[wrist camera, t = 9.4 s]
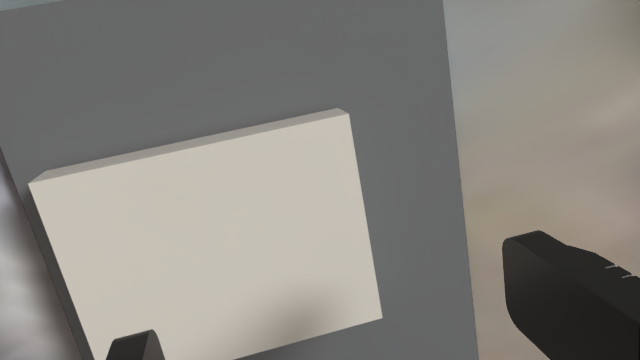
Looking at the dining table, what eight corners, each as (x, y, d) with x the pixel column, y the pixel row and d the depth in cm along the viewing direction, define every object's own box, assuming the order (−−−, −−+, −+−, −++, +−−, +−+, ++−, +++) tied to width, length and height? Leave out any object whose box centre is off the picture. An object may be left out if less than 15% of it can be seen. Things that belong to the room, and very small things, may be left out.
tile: (382, 317, 16) (107, 394, 15) (368, 295, 18) (118, 362, 17) (348, 113, 14) (27, 183, 13) (336, 107, 16) (47, 169, 15)
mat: (473, 358, 20) (479, 366, 20) (129, 461, 18) (126, 472, 18) (429, -61, 16) (436, -64, 15) (-40, 20, 14) (-50, 19, 13)
